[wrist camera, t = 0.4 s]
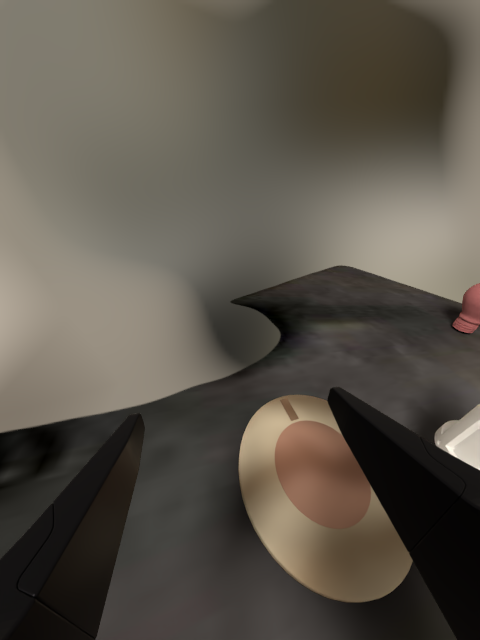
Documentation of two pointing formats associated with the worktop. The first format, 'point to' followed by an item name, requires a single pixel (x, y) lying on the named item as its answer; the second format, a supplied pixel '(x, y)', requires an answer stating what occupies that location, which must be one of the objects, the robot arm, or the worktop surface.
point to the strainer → (462, 438)
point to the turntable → (317, 503)
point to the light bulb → (469, 311)
